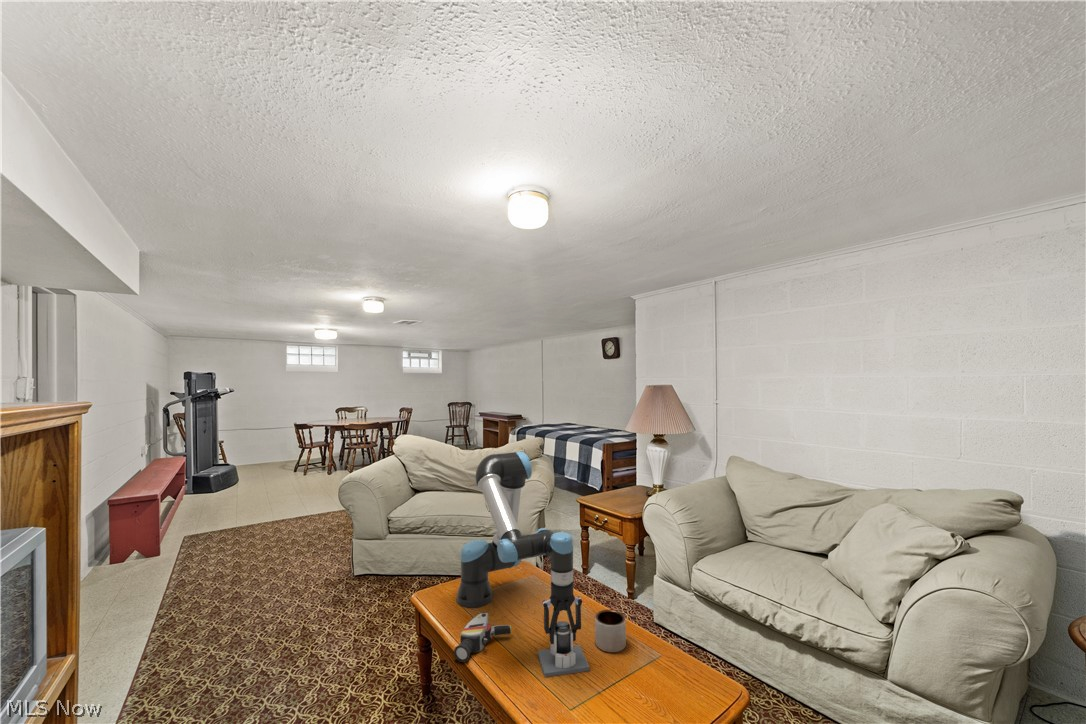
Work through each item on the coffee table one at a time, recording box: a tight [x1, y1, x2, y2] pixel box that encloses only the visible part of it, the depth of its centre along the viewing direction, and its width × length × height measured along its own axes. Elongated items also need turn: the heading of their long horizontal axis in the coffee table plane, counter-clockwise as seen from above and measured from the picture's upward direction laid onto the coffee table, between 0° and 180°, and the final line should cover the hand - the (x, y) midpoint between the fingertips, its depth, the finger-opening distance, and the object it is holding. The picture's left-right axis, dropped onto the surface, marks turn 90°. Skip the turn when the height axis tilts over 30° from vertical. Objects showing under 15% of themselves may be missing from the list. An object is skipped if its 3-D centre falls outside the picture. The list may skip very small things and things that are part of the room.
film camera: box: [453, 612, 512, 663], centre depth 158 cm, size 7×19×15 cm
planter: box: [594, 609, 627, 654], centre depth 159 cm, size 11×11×10 cm
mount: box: [537, 643, 591, 678], centre depth 150 cm, size 12×15×5 cm
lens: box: [555, 620, 571, 654], centre depth 150 cm, size 5×5×9 cm
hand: (562, 651), depth 149 cm, fingers closed on lens, 5 cm apart
